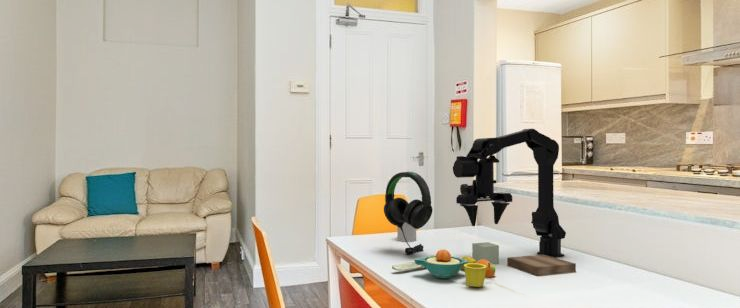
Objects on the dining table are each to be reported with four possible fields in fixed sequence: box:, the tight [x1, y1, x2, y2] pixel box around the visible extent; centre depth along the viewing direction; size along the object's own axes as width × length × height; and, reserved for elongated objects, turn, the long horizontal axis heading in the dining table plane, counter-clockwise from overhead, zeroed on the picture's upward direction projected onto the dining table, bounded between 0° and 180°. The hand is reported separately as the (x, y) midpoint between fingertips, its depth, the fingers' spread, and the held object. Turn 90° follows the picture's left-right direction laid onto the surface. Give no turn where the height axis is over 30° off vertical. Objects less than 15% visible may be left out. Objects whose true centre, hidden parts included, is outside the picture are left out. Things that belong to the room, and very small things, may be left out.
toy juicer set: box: [391, 249, 496, 288], centre depth 141 cm, size 29×18×8 cm, turn 53°
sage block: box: [471, 242, 500, 265], centre depth 154 cm, size 6×6×6 cm
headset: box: [383, 171, 433, 256], centre depth 167 cm, size 18×14×29 cm
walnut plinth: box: [506, 254, 577, 277], centre depth 146 cm, size 14×14×2 cm
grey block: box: [396, 222, 417, 243], centre depth 190 cm, size 8×8×12 cm
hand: (484, 225), depth 155 cm, fingers open, 9 cm apart
